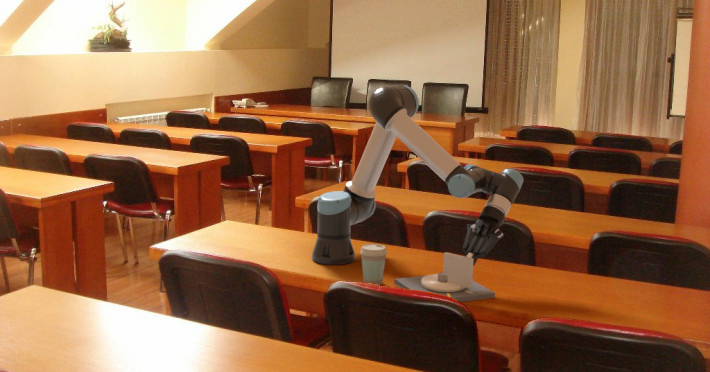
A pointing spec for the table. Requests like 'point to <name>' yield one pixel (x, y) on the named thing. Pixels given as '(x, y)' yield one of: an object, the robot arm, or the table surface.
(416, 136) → the robot arm
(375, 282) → the coffee cup
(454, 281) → the dial
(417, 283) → the dial plate
